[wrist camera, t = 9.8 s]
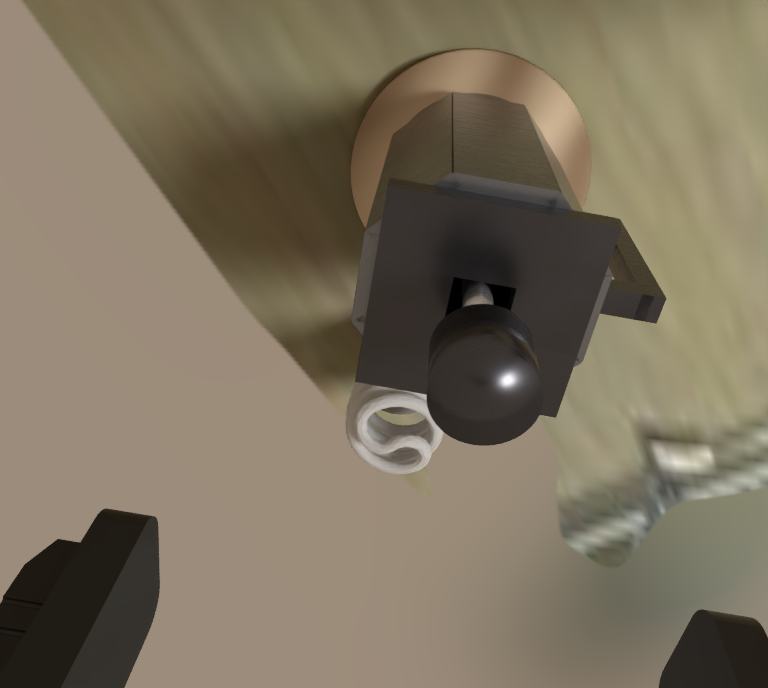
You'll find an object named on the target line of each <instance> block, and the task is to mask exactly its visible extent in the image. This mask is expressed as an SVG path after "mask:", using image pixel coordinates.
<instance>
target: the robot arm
mask: <svg viewBox="0 0 768 688" xmlns="http://www.w3.org/2000/svg"><path fill="white" fill-rule="evenodd" d="M159 578H160V577H159V538H158V521H157V519H156V517H154V516H148V515H142V514H136V513H130V512H124V511H118V510H112V509H103V510H102V511H101V512H100V513H99V514H98V515H97V517H96V518H95V520H94V521H93V523H92V525H91V526H90V528H89V529H88V531H87V533H86V534H85V536H84V538H83V539H82V541H81V543H78V542H72V541H67V540H61V539H57V540H56V541H55V542H53V543H52V544H51V545H50V546H48V547H47V548H46V549H44V550H43V551H42V552H40V553H39V554H38V555H36V556H35V557H34V558H33V559H31V560H30V561H29V562H27V563H26V564H25V565H24V566H23V568H22V569H21V571H20V572H19V574H18V575H17V577H16V578H15V580H14V581H13V583H12V584H11V586H10V587H9V589H8V590H7V591H6V593H5V595H4V596H3V600H2V602H1V604H0V688H124V687H125V685H126V683H127V680H128V678H129V676H130V673H131V671H132V669H133V666H134V664H135V662H136V660H137V657H138V655H139V653H140V650H141V648H142V646H143V644H144V641H145V639H146V637H147V634H148V632H149V630H150V627H151V624H152V622H153V618H154V615H155V611H156V607H157V603H158V597H159V589H160V579H159ZM659 688H768V637H767V635H766V633H765V631H764V629H763V627H762V626H761V624H760V623H759V622H758V621H757V620H755V619H754V618H750V617H744V616H738V615H732V614H725V613H720V612H714V611H708V610H698V611H697V612H696V613H695V614H694V615H693V617H692V618H691V620H690V622H689V624H688V626H687V628H686V629H685V631H684V633H683V635H682V637H681V639H680V640H679V642H678V644H677V646H676V648H675V650H674V652H673V653H672V655H671V657H670V659H669V661H668V662H667V664H666V666H665V668H664V670H663V672H662V675H661V678H660V683H659Z"/></svg>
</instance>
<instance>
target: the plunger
mask: <svg viewBox="0 0 768 688" xmlns="http://www.w3.org/2000/svg"><path fill="white" fill-rule="evenodd" d="M543 399H544V394H543V387H542V382H541V377H540V372H539V367H538V362H537V357H536V352H535V347H534V342H533V337H532V334H531V332H530V330H529V328H528V326H527V325H526V324H525V322H524V321H523V320H522V319H521V318H520V317H519V316H518V315H516V314H515V313H513V312H512V311H510V310H508V309H506V308H503V307H500V306H497V305H494V304H493V295H492V286H491V284H490V283H484V282H479V281H473V280H468V279H462V308H459V309H457V310H455V311H453V312H451V313H450V314H448V315H447V316H446V317H445V318H443V319H442V320H441V321H440V323H439V324H438V325H437V327H436V328H435V330H434V332H433V334H432V336H431V339H430V344H429V358H428V377H427V407H428V410H429V413H430V415H431V417H432V419H433V421H434V422H435V424H436V425H437V426H438V427H439V428H440V429H441V430H442V431H443V432H445V433H446V434H447V435H449V436H450V437H452V438H454V439H456V440H458V441H461V442H464V443H468V444H473V445H496V444H501V443H504V442H507V441H510V440H512V439H515V438H517V437H518V436H520V435H522V434H523V433H524V432H526V431H527V430H528V429H529V428H530V427H531V426H532V425H533V424H534V423H535V421H536V420H537V418H538V416H539V415H540V412H541V410H542V406H543Z"/></svg>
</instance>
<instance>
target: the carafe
mask: <svg viewBox="0 0 768 688" xmlns="http://www.w3.org/2000/svg"><path fill="white" fill-rule="evenodd" d="M612 275H613V276H612ZM612 277H614V279H615V280H612ZM462 279H468V280H473V281H479V282H484V283H490V284H491V286H492V295H493V304H494V305H497V306H500V307H503V308H506V309H508V310H510V311H512V312H513V313H515V314H516V315H518V316H519V317H520V318H521V319H522V320H523V321H524V322H525V324H526V325H527V326H528V328H529V330H530V332H531V334H532V337H533V342H534V347H535V352H536V357H537V362H538V367H539V372H540V377H541V382H542V387H543V394H544V399H543V406H542V410H541V412H540V415H544V416H550V417H556V416H557V413H558V410H559V407H560V404H561V401H562V399H563V396H564V393H565V390H566V387H567V384H568V381H569V378H570V375H571V373H572V370H573V367H575V366H577V365H579V364H580V363H581V362H583V359H584V356H585V353H586V350H587V348H588V345H589V342H590V339H591V336H592V333H593V331H594V328H595V325H596V322H597V319H598V316H599V314H600V313H601V314H606V315H612V316H618V317H623V318H629V319H634V320H640V321H646V322H651V323H657V321H658V318H659V316H660V313H661V311H662V308H663V306H664V303H665V301H666V297H665V295H664V294H663V292H662V290H661V288H660V287H659V285H658V283H657V282H656V280H655V278H654V276H653V275H652V273H651V271H650V270H649V268H648V266H647V264H646V263H645V261H644V259H643V258H642V256H641V254H640V252H639V251H638V249H637V247H636V246H635V244H634V242H633V241H632V239H631V237H630V235H629V234H628V232H627V230H626V229H625V227H624V225H623V223H622V222H621V220H620V219H617V218H613V217H608V216H602V215H597V214H591V213H586V212H583V210H582V208H581V206H580V204H579V202H578V200H577V198H576V196H575V193H574V191H573V189H572V187H571V185H570V183H569V181H568V178H567V176H566V174H565V172H564V170H563V168H562V166H561V164H560V162H559V160H558V159H557V157H556V155H555V154H554V152H553V150H552V149H551V147H550V146H549V144H548V142H547V141H546V139H545V137H544V135H543V133H542V131H541V130H540V128H539V127H538V126H537V124H536V123H535V121H534V119H533V118H532V116H531V114H530V113H529V111H528V109H527V108H526V106H525V105H524V104H519V103H513V102H509V101H507V100H504V99H502V98H499V97H496V96H492V95H488V94H480V93H458V92H453V93H452V92H451V93H449V94H448V95H447V96H445V97H444V98H442V99H440V100H438V101H436V102H434V103H432V104H430V105H429V106H427V107H425V108H424V109H422V110H421V111H420V112H419V113H417V114H416V115H415V116H414V117H413V118H412V119H411V120H410V121H409V122H408V123H407V124H406V125H405V126H403V127H402V128H400V129H399V130H398V131H396V132H395V133H393V135H392V139H391V142H390V145H389V149H388V152H387V156H386V159H385V163H384V166H383V170H382V173H381V177H380V180H379V184H378V187H377V191H376V194H375V197H374V201H373V204H372V208H371V211H370V215H369V218H368V222H367V225H366V229H365V232H364V239H363V246H362V252H361V259H360V265H359V272H358V278H357V285H356V291H355V298H354V304H353V311H352V318H351V321H352V323H353V325H354V326H355V327H356V328H357V329H358V331H359V332H360V333H361V334H362V336H363V338H362V344H361V350H360V356H359V362H358V368H357V374H356V380H355V382H358V383H364V384H370V385H375V386H381V387H387V388H392V389H398V390H404V391H409V392H415V393H420V394H426V395H427V377H428V358H429V344H430V339H431V336H432V334H433V332H434V330H435V328H436V327H437V325H438V324H439V323H440V321H441V320H442V319H443V318H445V317H446V316H447V315H448V314H450V313H451V312H453V311H455V310H457V309H459V308H462Z"/></svg>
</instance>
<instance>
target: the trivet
mask: <svg viewBox="0 0 768 688" xmlns="http://www.w3.org/2000/svg"><path fill="white" fill-rule="evenodd" d="M451 92H452V93H453V92H458V93H480V94H488V95H492V96H496V97H499V98H502V99H504V100H507V101H509V102H513V103H519V104H524V105H525V106H526V108H527V109H528V111H529V113H530V114H531V116H532V118H533V119H534V121H535V123H536V124H537V126H538V127H539V128H540V130H541V131H542V133H543V135H544V137H545V139H546V141H547V142H548V144H549V146H550V147H551V149H552V150H553V152H554V154H555V155H556V157H557V159H558V160H559V162H560V164H561V166H562V168H563V170H564V172H565V174H566V176H567V178H568V181H569V183H570V185H571V187H572V189H573V191H574V193H575V196H576V198H577V200H578V202H579V204H580V206H581V208H582V209H583V206H584V203H585V201H586V197H587V193H588V189H589V185H590V177H591V151H590V145H589V139H588V135H587V132H586V129H585V126H584V123H583V120H582V118H581V116H580V114H579V112H578V110H577V108H576V106H575V105H574V103H573V102H572V101H571V99H570V98H569V96H568V95H567V93H566V92H565V91H564V90H563V88H562V87H561V86H560V85H559V84H558V83H557V82H556V81H555V80H554V79H553V78H552V77H551V76H549V75H548V74H547V73H546V72H545V71H543V70H542V69H541V68H539V67H537V66H535V65H534V64H532V63H530V62H529V61H527V60H525V59H522V58H520V57H517V56H515V55H512V54H509V53H505V52H501V51H497V50H489V49H480V48H478V49H460V50H454V51H448V52H444V53H441V54H438V55H434V56H431V57H429V58H427V59H424V60H422V61H420V62H418V63H416V64H414V65H413V66H411V67H410V68H408V69H406V70H405V71H403V72H402V73H400V74H399V75H398V76H397V77H396V78H395V79H393V80H392V81H391V82H390V83H389V84H388V85H387V86H386V87H385V88H384V89H383V90H382V92H381V93H380V94H379V95H378V96H377V97H376V99H375V100H374V102H373V103H372V105H371V106H370V108H369V109H368V111H367V113H366V115H365V117H364V119H363V121H362V123H361V125H360V128H359V130H358V133H357V136H356V139H355V142H354V147H353V152H352V157H351V172H350V173H351V188H352V193H353V198H354V203H355V206H356V209H357V211H358V214H359V217H360V219H361V221H362V223H363V225H364V227H365V229H366V225H367V222H368V218H369V215H370V211H371V208H372V204H373V201H374V197H375V194H376V191H377V187H378V184H379V180H380V177H381V173H382V170H383V166H384V163H385V159H386V156H387V152H388V149H389V145H390V142H391V139H392V135H393V133H395V132H396V131H398V130H399V129H400V128H402V127H403V126H405V125H406V124H407V123H408V122H409V121H410V120H411V119H412V118H413V117H414V116H415V115H416V114H417V113H419V112H420V111H421V110H422V109H424V108H425V107H427V106H429V105H430V104H432V103H434V102H436V101H438V100H440V99H442V98H444V97H445V96H447V95H448V94H449V93H451Z"/></svg>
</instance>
